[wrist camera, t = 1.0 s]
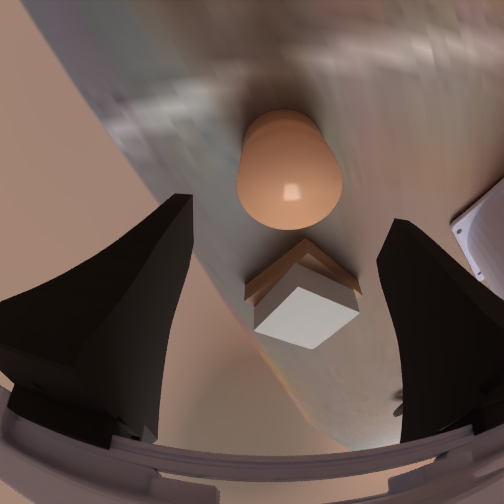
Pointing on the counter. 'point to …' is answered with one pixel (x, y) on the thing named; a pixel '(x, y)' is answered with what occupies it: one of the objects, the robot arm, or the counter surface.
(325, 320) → the slab upper
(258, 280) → the slab lower
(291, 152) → the terracotta cylinder
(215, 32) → the counter surface
